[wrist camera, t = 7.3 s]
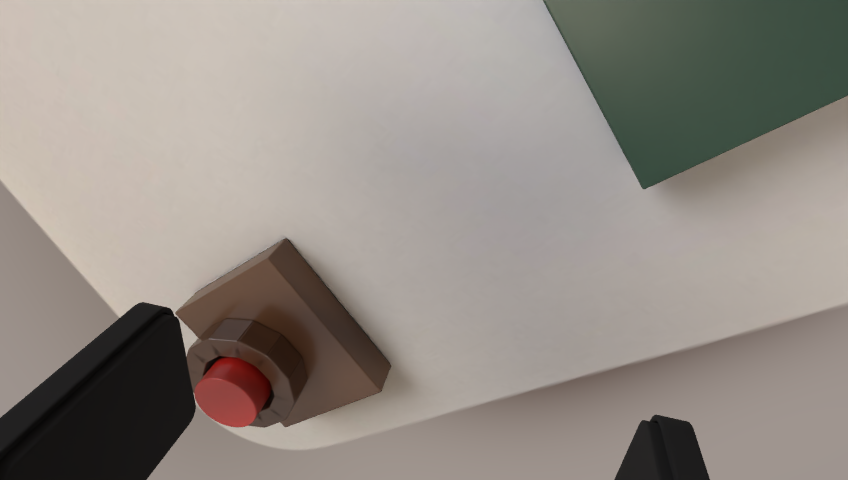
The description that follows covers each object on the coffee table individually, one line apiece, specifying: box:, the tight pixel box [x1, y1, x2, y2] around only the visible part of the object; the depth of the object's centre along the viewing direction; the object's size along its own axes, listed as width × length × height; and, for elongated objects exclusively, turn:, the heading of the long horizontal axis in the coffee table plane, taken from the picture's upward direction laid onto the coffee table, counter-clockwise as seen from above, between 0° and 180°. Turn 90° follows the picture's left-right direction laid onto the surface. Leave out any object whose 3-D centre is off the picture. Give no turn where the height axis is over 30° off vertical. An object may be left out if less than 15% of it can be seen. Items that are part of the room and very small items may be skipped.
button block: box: [176, 239, 391, 427], centre depth 29 cm, size 10×9×4 cm
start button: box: [195, 357, 271, 427], centre depth 28 cm, size 4×4×2 cm
